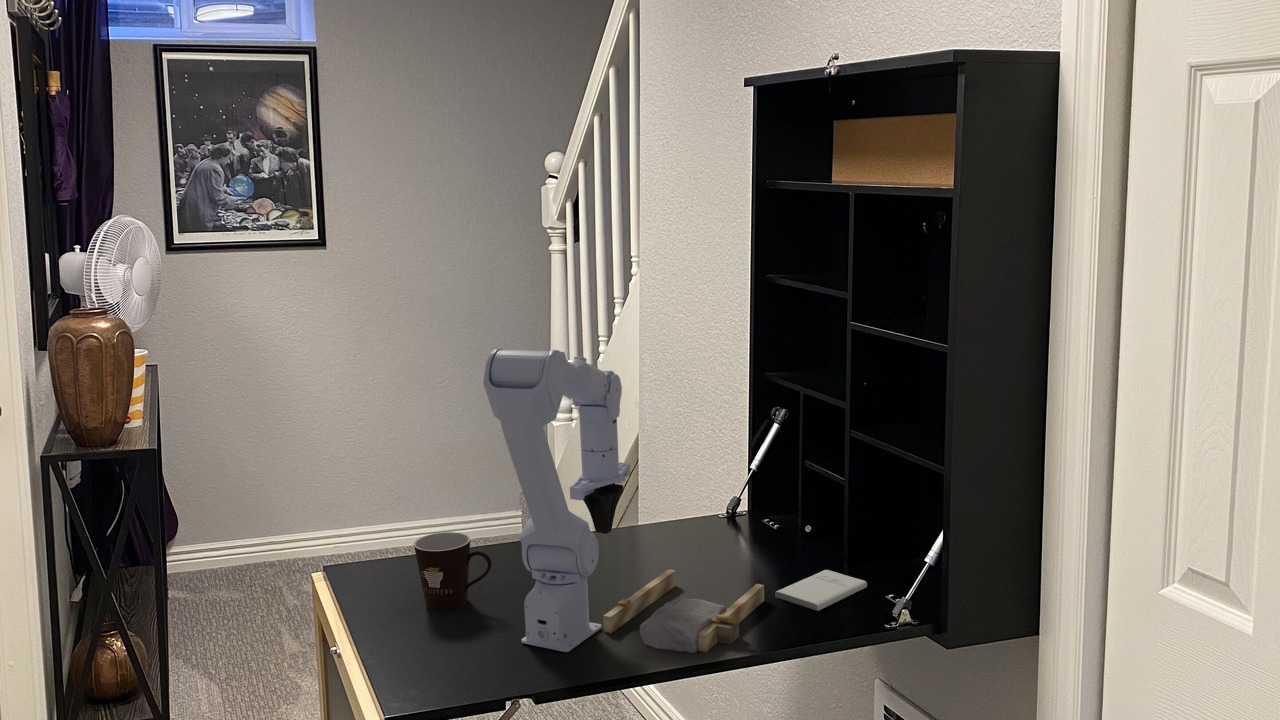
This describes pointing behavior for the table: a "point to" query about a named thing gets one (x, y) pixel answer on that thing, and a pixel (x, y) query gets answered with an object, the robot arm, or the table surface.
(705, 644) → the beam track
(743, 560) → the table surface
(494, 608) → the table surface
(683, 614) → the stone block
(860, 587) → the external hard drive
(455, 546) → the coffee mug
